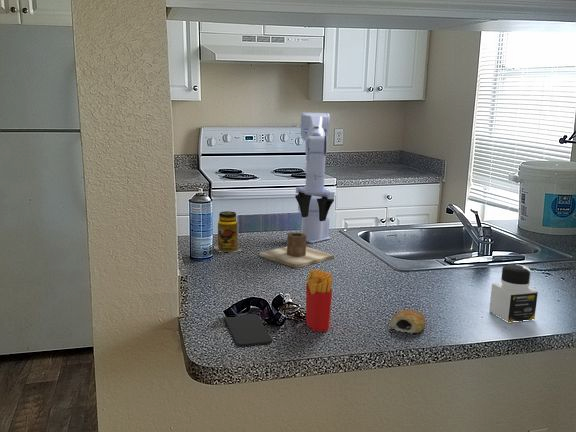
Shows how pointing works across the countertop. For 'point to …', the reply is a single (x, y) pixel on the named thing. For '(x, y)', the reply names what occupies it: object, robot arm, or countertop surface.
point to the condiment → (227, 232)
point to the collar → (296, 244)
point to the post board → (296, 262)
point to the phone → (248, 330)
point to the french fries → (318, 300)
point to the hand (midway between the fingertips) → (313, 218)
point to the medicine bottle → (514, 294)
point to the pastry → (408, 321)
